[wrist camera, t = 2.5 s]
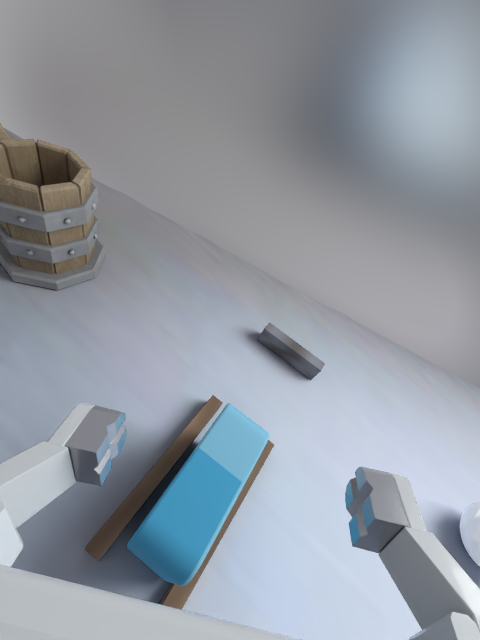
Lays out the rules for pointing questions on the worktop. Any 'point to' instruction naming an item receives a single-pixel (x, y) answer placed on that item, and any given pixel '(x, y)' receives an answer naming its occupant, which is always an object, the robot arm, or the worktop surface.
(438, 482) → the worktop surface
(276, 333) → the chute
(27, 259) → the tankard
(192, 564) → the data package
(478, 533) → the white ball
